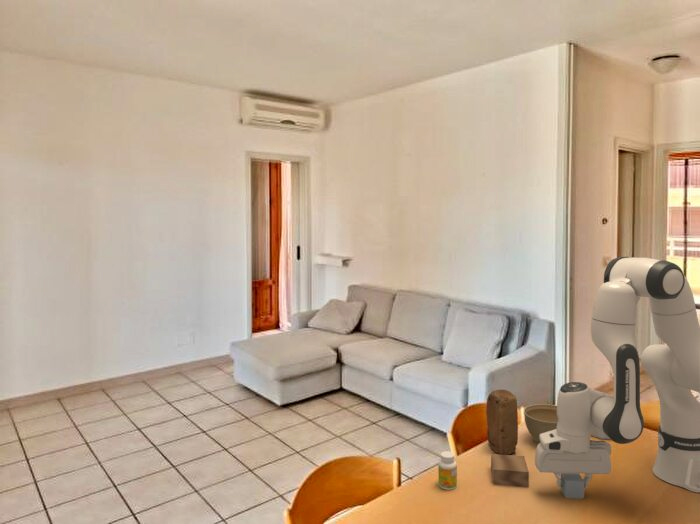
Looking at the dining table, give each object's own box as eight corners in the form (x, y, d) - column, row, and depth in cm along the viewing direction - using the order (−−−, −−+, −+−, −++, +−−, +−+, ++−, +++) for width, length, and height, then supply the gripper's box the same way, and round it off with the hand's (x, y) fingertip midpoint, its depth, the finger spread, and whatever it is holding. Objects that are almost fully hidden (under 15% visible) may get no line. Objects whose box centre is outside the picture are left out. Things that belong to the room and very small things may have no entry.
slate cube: (578, 489, 149) (578, 472, 149) (584, 498, 144) (584, 481, 144) (560, 488, 150) (560, 472, 149) (565, 497, 145) (565, 481, 144)
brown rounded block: (519, 454, 171) (520, 396, 169) (499, 457, 169) (499, 398, 168) (502, 440, 182) (502, 385, 180) (483, 443, 180) (483, 388, 178)
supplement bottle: (434, 485, 153) (434, 454, 152) (446, 478, 157) (446, 448, 156) (448, 492, 149) (448, 460, 148) (460, 485, 153) (460, 454, 152)
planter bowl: (517, 432, 188) (518, 404, 187) (562, 432, 187) (563, 403, 186) (531, 453, 172) (531, 422, 171) (580, 453, 171) (581, 421, 170)
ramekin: (626, 438, 181) (627, 424, 181) (600, 443, 178) (600, 428, 178) (603, 426, 192) (603, 412, 192) (578, 430, 189) (578, 416, 189)
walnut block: (524, 471, 161) (524, 456, 160) (528, 488, 151) (528, 471, 151) (491, 468, 163) (491, 453, 162) (493, 485, 153) (493, 469, 153)
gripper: (607, 436, 148) (605, 481, 149) (533, 434, 150) (533, 479, 151) (615, 445, 141) (614, 493, 143) (539, 443, 144) (538, 490, 145)
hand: (572, 486), depth 147 cm, fingers closed on slate cube, 5 cm apart
